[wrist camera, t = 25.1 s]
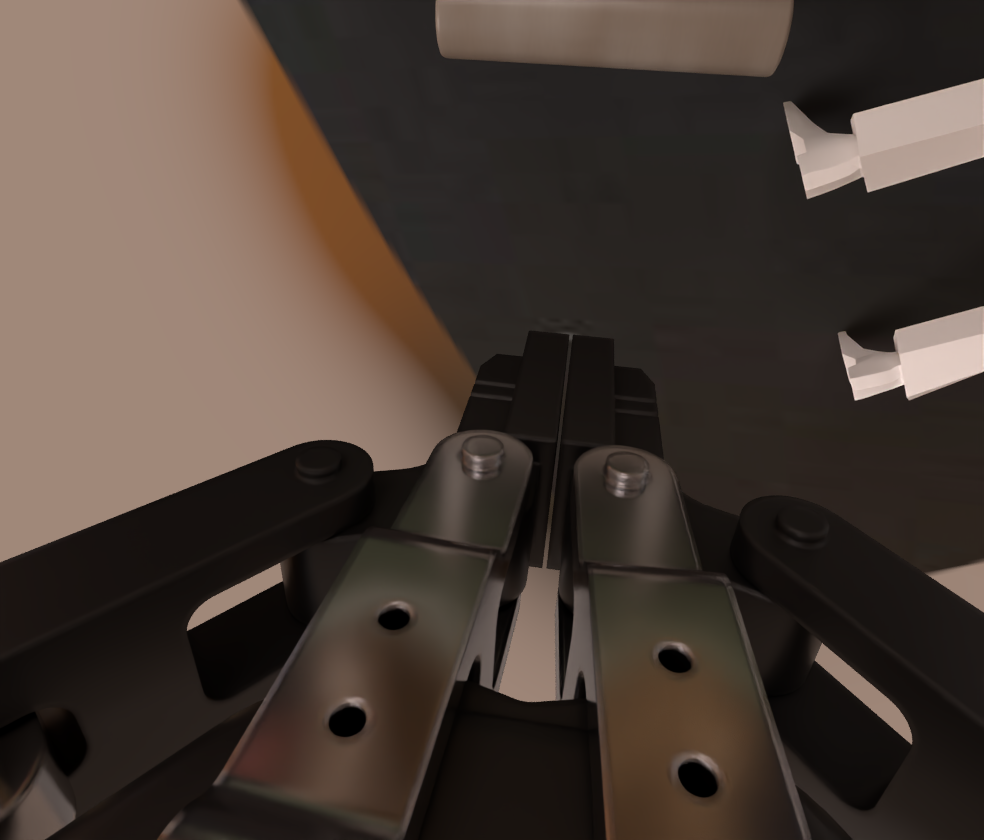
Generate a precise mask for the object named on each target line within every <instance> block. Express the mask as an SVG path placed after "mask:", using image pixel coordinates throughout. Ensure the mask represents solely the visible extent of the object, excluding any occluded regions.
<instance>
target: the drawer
mask: <svg viewBox="0 0 984 840" xmlns="http://www.w3.org/2000/svg"><path fill="white" fill-rule="evenodd" d="M793 9H794V0H436V10H435V18H436V35H437V41H438V46H439V49H440V53H441V55H442V56H443V57H445V58H451V59H468V60H485V61H502V62H519V63H536V64H553V65H570V66H587V67H604V68H621V69H638V70H655V71H672V72H689V73H706V74H723V75H740V76H757V77H768V76H771V75H772V74H773V73H774V72H775V70H776V68H777V67H778V65H779V63H780V61H781V58H782V56H783V53H784V50H785V47H786V44H787V40H788V36H789V32H790V28H791V23H792V17H793Z"/></svg>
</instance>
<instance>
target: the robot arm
mask: <svg viewBox="0 0 984 840" xmlns="http://www.w3.org/2000/svg"><path fill="white" fill-rule="evenodd" d="M568 343H569V335H568V334H558V333H548V332H538V331H529V333H528V337H527V341H526V345H525V349H524V353H523V357H521V356H512V355H502V354H496V355H495V356H494V357H492V358H491V359H490V360H488V361H487V362H485V363H484V364H483V365H481V367H480V370H479V372H478V375H477V378H476V381H475V384H474V386H473V389H472V392H471V396H470V397H469V400H468V403H467V406H466V408H465V411H464V414H463V417H462V420H461V422H460V425H459V428H458V431H457V433H455V434H452V435H450V436H448V437H446V438H444V439H443V440H441V441H440V442H439V443H438V444H437V445H436V447H435V448H434V449H433V451H432V453H431V455H430V457H429V459H428V461H427V462H426V464H424V465H421V466H418V467H413V468H407V469H399V470H388V471H375V472H374V470H373V462H372V459H371V457H370V456H369V454H368V453H367V452H366V451H365V450H363V449H361V448H360V447H358V446H356V445H354V444H351V443H347V442H343V441H336V440H318V441H311V442H307V443H302V444H299V445H295V446H293V447H290V448H288V449H285V450H283V451H280V452H277V453H275V454H272V455H270V456H267V457H265V458H262V459H260V460H257V461H255V462H252V463H250V464H247V465H245V466H242V467H240V468H237V469H235V470H232V471H230V472H227V473H225V474H222V475H219V476H217V477H215V478H212V479H209V480H207V481H204V482H202V483H200V484H197V485H194V486H192V487H189V488H187V489H184V490H182V491H179V492H177V493H174V494H172V495H169V496H167V497H164V498H161V499H159V500H156V501H154V502H151V503H149V504H146V505H144V506H141V507H139V508H136V509H134V510H131V511H129V512H126V513H124V514H121V515H119V516H116V517H114V518H111V519H109V520H106V521H104V522H101V523H98V524H96V525H94V526H91V527H88V528H86V529H83V530H81V531H78V532H76V533H73V534H71V535H68V536H66V537H63V538H61V539H58V540H56V541H53V542H51V543H48V544H46V545H43V546H41V547H38V548H35V549H33V550H30V551H28V552H25V553H23V554H20V555H18V556H15V557H13V558H10V559H8V560H5V561H3V562H0V840H984V613H983V612H982V611H980V610H979V609H977V608H976V607H974V606H973V605H971V604H970V603H968V602H967V601H965V600H964V599H962V598H961V597H959V596H958V595H956V594H955V593H953V592H952V591H950V590H949V589H947V588H946V587H944V586H943V585H941V584H940V583H938V582H937V581H935V580H934V579H932V578H931V577H929V576H928V575H926V574H925V573H923V572H922V571H920V570H919V569H917V568H916V567H914V566H913V565H911V564H910V563H908V562H907V561H905V560H904V559H902V558H901V557H899V556H898V555H896V554H895V553H893V552H892V551H890V550H889V549H887V548H886V547H884V546H883V545H881V544H880V543H878V542H877V541H875V540H874V539H872V538H871V537H869V536H868V535H866V534H865V533H863V532H862V531H860V530H859V529H857V528H856V527H854V526H853V525H851V524H850V523H848V522H847V521H845V520H844V519H842V518H841V517H839V516H838V515H836V514H835V513H833V512H831V511H830V510H828V509H826V508H824V507H822V506H820V505H817V504H815V503H812V502H809V501H806V500H803V499H799V498H794V497H789V496H764V497H760V498H756V499H754V500H752V501H750V502H748V503H747V504H746V505H745V506H744V507H743V509H742V511H741V513H740V517H739V516H736V515H733V514H730V513H727V512H724V511H721V510H718V509H715V508H712V507H710V506H707V505H704V504H702V503H700V502H698V501H696V500H694V499H692V498H691V497H689V496H687V495H686V494H684V493H683V492H682V491H681V487H680V484H679V480H678V477H677V475H676V472H675V471H674V470H673V468H672V467H671V466H670V465H669V464H668V463H667V462H666V461H664V457H663V449H662V441H661V433H660V424H659V417H658V408H657V404H656V392H655V384H654V383H653V382H652V381H651V380H650V379H649V377H648V376H647V375H646V374H645V373H644V372H643V371H642V370H641V369H638V368H628V367H618V366H614V339H610V338H600V337H590V336H580V335H573V339H572V348H571V357H570V365H569V374H568V383H567V391H566V400H565V409H564V417H563V426H562V435H561V444H560V453H559V461H558V470H557V479H556V488H555V497H554V506H553V515H552V524H551V533H550V542H549V551H548V560H547V568H548V569H555V570H560V575H559V587H558V595H557V602H556V610H555V659H556V660H555V662H556V664H555V666H556V701H544V702H524V701H519V700H516V699H514V698H511V697H509V696H506V695H504V694H501V693H499V692H498V691H499V687H500V683H501V679H502V675H503V671H504V667H505V664H506V660H507V655H508V652H509V648H510V643H511V639H512V636H513V632H514V627H515V624H516V620H517V616H518V612H519V607H520V598H521V593H522V591H523V589H524V587H525V585H526V581H527V574H528V568H529V566H531V567H539V568H542V565H543V557H544V548H545V540H546V532H547V523H548V515H549V507H550V498H551V490H552V482H553V473H554V465H555V457H556V448H557V440H558V431H559V422H560V414H561V405H562V396H563V387H564V378H565V369H566V360H567V351H568ZM278 563H280V565H281V571H282V577H283V581H282V582H280V583H278V584H276V585H275V586H273V587H271V588H269V589H267V590H265V591H263V592H261V593H259V594H257V595H255V596H253V597H252V598H250V599H248V600H246V601H244V602H242V603H240V604H238V605H236V606H235V607H233V608H231V609H229V610H227V611H225V612H223V613H221V614H219V615H217V616H215V617H213V618H212V619H210V620H208V621H206V622H204V623H202V624H200V625H198V626H196V627H194V628H193V629H191V630H188V631H187V625H188V622H189V620H190V618H191V616H192V615H193V613H194V612H195V610H196V609H197V608H198V607H199V606H200V605H202V604H203V603H204V602H205V601H207V600H208V599H210V598H211V597H213V596H215V595H217V594H219V593H221V592H223V591H225V590H227V589H229V588H231V587H233V586H235V585H237V584H239V583H241V582H243V581H245V580H247V579H249V578H251V577H253V576H255V575H256V574H258V573H261V572H262V571H264V570H266V569H268V568H270V567H272V566H274V565H276V564H278ZM822 643H823V644H824V645H825V646H827V647H828V648H829V649H830V650H831V651H832V652H834V653H835V654H836V655H837V656H839V657H840V658H841V659H842V660H843V661H844V662H846V663H847V664H848V665H849V666H850V667H852V668H853V669H854V670H855V671H856V672H858V673H859V674H860V675H861V676H862V677H864V678H865V679H866V680H867V681H868V682H869V683H871V684H872V685H873V686H874V687H875V688H877V689H878V690H879V691H880V692H881V693H882V694H884V695H885V696H886V697H887V698H889V699H890V700H891V701H892V702H893V703H894V704H895V705H896V706H897V708H898V709H899V710H900V711H901V713H902V714H903V715H904V717H905V719H906V720H907V722H908V724H909V727H910V729H911V733H912V740H913V742H912V745H911V744H910V743H909V742H908V741H906V740H905V739H904V738H903V737H902V736H901V735H899V734H898V733H897V732H896V731H895V730H894V729H893V728H891V727H890V726H889V725H888V724H887V723H886V722H885V721H883V720H882V719H881V718H880V717H879V716H877V714H875V713H874V712H873V711H872V710H871V709H870V708H869V707H867V706H866V705H865V704H864V703H863V702H862V701H861V700H859V699H858V698H857V697H856V696H855V695H854V694H852V693H851V692H850V691H849V690H848V689H847V688H846V687H845V686H843V685H842V684H841V683H840V682H839V681H837V680H836V679H835V678H834V677H833V676H832V675H831V674H830V673H828V672H827V671H826V670H825V669H824V668H823V667H822V666H820V665H819V664H818V663H817V662H816V661H815V658H816V655H817V653H818V651H819V649H820V646H821V644H822Z"/></svg>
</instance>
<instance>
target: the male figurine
mask: <svg viewBox="0 0 984 840" xmlns="http://www.w3.org/2000/svg"><path fill="white" fill-rule="evenodd" d="M783 105H784V109H785V113H786V118H787V122H788V126H789V131H790V135H791V140H792V144H793V149H794V153H795V158H796V162H797V164H799V166H800V170H801V175H802V179H803V183H804V187H805V192H806V196H807V199H808V198H811V197H814V196H817V195H820V194H823V193H826V192H828V191H831V190H834V189H836V188H839V187H841V186H843V185H846V184H848V183H850V182H852V181H854V180H857V179H859V178H861V177H864V180H865V184H866V188H867V192H871V191H874V190H877V189H881V188H884V187H887V186H890V185H894V184H897V183H900V182H904V181H907V180H910V179H913V178H917V177H920V176H923V175H926V174H930V173H933V172H936V171H940V170H943V169H946V168H949V167H953V166H956V165H959V164H962V163H966V162H969V161H972V160H975V159H979V158H982V157H984V79H980V80H977V81H973V82H969V83H965V84H962V85H958V86H954V87H951V88H947V89H943V90H939V91H936V92H932V93H928V94H925V95H921V96H917V97H913V98H910V99H906V100H902V101H899V102H895V103H891V104H887V105H884V106H880V107H876V108H873V109H869V110H865V111H862V112H858V113H854V114H853V116H852V118H851V120H850V121H851V126H852V131H853V134H835V133H827V132H825V131H824V130H822V129H821V128H820V127H818V126H817V125H815V124H814V123H813V122H812V121H811V120H810V119H809V118H808V117H807V116H806V115H805V114H804V113H803V112H801V111H800V110H799V109H798V108H797V107H796V106H795V105H794V104H793V103H792V102H791V101H788V102H783ZM838 337H839V342H840V346H841V351H842V355H843V359H844V363H845V366H846V370H847V374H848V378H849V381H850V383H851V386H852V390H853V394H854V398H855V400H859V399H863V398H867V397H870V396H872V395H875V394H878V393H881V392H885V391H888V390H891V389H894V388H896V387H899V386H901V385H905V390H906V395H907V398H908V399H909V400H911V399H914V398H916V397H919V396H922V395H924V394H927V393H929V392H932V391H935V390H937V389H940V388H942V387H945V386H948V385H950V384H953V383H955V382H958V381H961V380H963V379H966V378H968V377H971V376H974V375H976V374H979V373H981V372H984V306H982V307H979V308H975V309H971V310H968V311H964V312H960V313H957V314H953V315H949V316H945V317H942V318H938V319H934V320H931V321H927V322H923V323H920V324H916V325H912V326H909V327H905V328H901V329H897V330H895V334H894V337H893V339H894V344H895V349H896V352H880V351H873V350H867V349H863V348H862V347H861V346H859V345H858V344H857V343H856V342H855V341H854V340H852V339H851V338H850V337H849V336H848V335H847V334H846V331H842V332H839V333H838Z"/></svg>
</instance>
